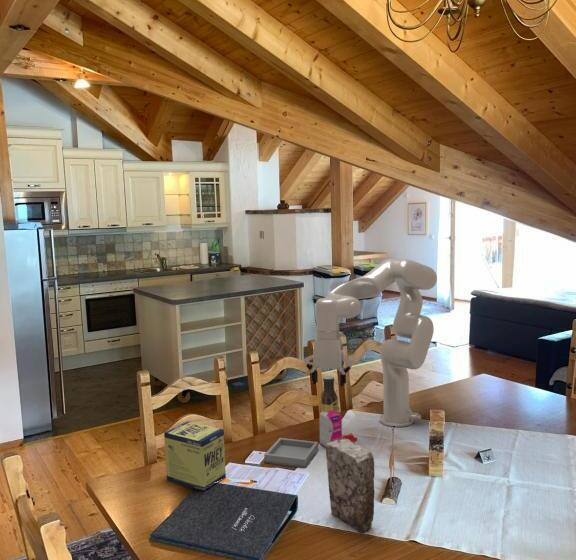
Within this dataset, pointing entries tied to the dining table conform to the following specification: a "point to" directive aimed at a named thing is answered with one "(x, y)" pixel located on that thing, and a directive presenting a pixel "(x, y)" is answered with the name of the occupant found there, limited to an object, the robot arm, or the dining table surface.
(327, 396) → the sauce bottle
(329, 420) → the supplement box
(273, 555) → the dining table surface
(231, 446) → the dining table surface
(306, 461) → the slate tray
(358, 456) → the stone block
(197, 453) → the protein box
